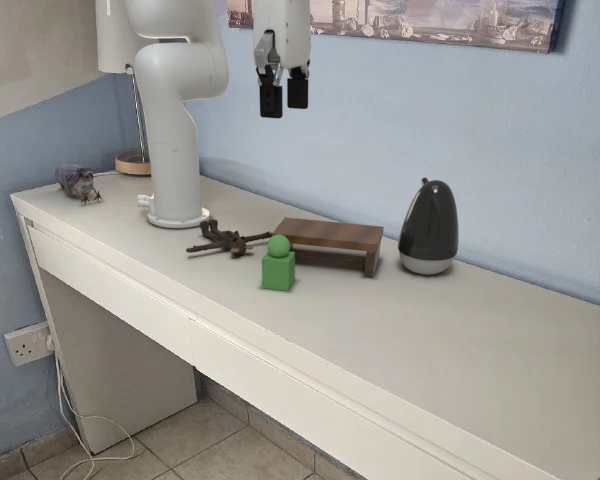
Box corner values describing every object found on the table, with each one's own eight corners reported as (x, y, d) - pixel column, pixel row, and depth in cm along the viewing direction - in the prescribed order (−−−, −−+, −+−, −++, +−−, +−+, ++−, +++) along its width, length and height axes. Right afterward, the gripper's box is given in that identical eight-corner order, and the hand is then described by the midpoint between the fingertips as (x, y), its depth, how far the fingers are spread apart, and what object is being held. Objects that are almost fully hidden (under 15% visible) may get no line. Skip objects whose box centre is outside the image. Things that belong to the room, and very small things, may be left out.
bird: (73, 186, 145) (66, 154, 141) (106, 201, 136) (100, 167, 132) (51, 190, 142) (44, 157, 138) (83, 206, 133) (77, 171, 129)
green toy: (262, 288, 100) (261, 238, 95) (269, 277, 103) (268, 229, 99) (288, 291, 99) (289, 241, 95) (294, 280, 103) (295, 232, 98)
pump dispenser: (439, 256, 114) (452, 171, 105) (463, 278, 105) (480, 187, 97) (386, 259, 112) (396, 173, 103) (407, 282, 103) (419, 190, 95)
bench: (271, 266, 108) (271, 233, 104) (284, 249, 115) (284, 217, 111) (374, 278, 104) (377, 243, 101) (380, 259, 112) (383, 226, 108)
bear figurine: (248, 211, 123) (286, 225, 112) (249, 233, 125) (287, 248, 114) (163, 225, 115) (195, 242, 104) (166, 248, 117) (198, 267, 106)
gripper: (283, -28, 88) (284, 103, 97) (227, -34, 75) (235, 119, 84) (333, -29, 86) (329, 106, 95) (284, -35, 72) (285, 123, 82)
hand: (285, 112), depth 89 cm, fingers open, 9 cm apart
